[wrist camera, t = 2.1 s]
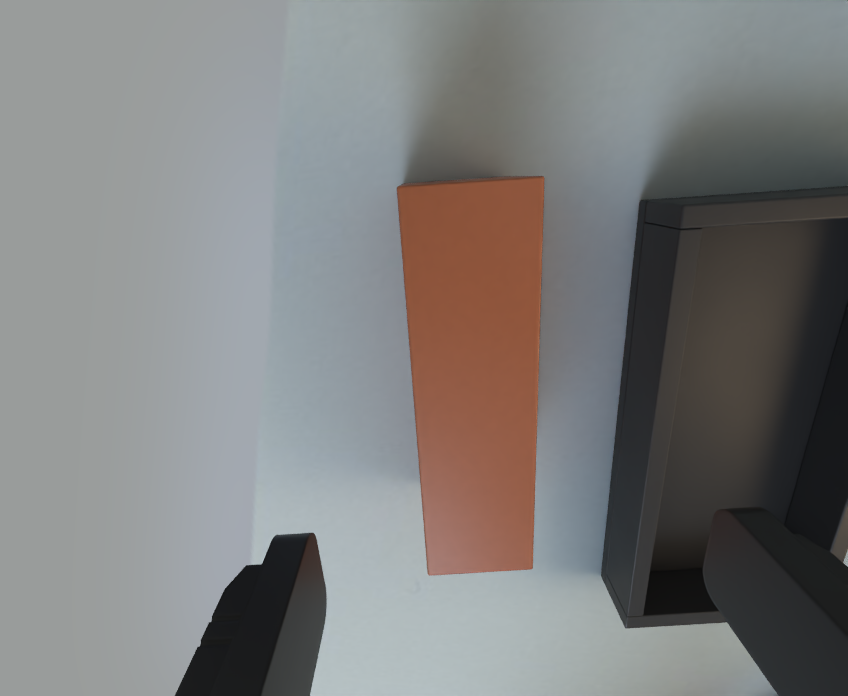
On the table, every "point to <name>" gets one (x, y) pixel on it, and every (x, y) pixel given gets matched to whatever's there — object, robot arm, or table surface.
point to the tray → (728, 389)
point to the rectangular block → (475, 364)
